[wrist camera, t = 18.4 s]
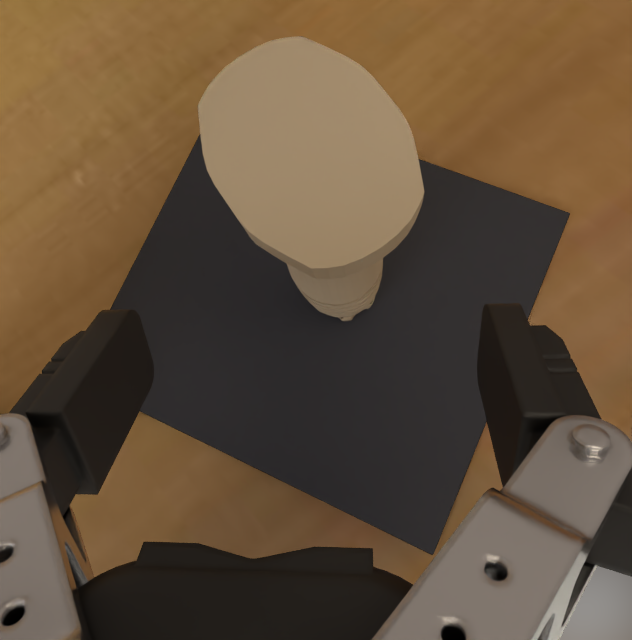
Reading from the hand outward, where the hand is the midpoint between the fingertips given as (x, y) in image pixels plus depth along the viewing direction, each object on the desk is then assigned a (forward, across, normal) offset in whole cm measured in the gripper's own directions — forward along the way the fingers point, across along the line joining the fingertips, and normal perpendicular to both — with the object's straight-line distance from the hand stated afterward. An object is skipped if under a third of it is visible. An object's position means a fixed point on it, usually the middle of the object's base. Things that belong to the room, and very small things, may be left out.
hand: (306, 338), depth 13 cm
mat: (+14, +1, +8) cm, 16 cm away
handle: (+14, 0, +7) cm, 16 cm away
